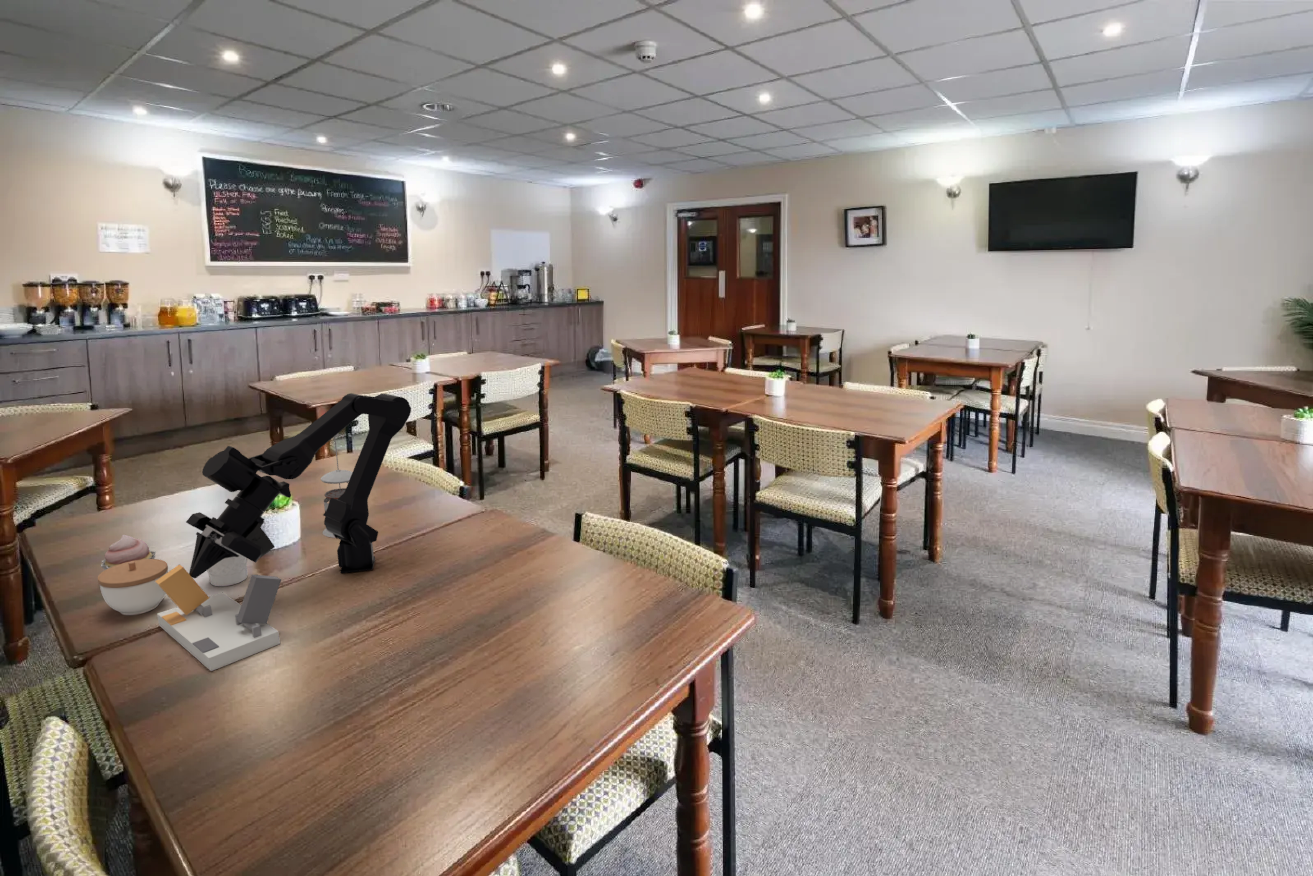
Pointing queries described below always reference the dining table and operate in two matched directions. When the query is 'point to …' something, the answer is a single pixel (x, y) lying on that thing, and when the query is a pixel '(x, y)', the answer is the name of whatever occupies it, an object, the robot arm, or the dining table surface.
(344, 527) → the robot arm
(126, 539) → the cupcake
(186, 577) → the orange rocker
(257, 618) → the charcoal rocker
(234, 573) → the white cup
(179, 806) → the dining table surface
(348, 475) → the french press
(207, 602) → the switch console
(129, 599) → the lidded jar
